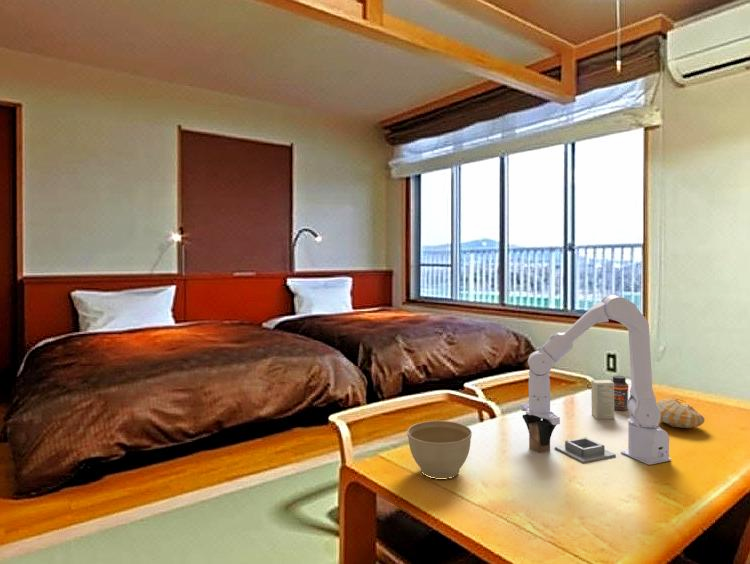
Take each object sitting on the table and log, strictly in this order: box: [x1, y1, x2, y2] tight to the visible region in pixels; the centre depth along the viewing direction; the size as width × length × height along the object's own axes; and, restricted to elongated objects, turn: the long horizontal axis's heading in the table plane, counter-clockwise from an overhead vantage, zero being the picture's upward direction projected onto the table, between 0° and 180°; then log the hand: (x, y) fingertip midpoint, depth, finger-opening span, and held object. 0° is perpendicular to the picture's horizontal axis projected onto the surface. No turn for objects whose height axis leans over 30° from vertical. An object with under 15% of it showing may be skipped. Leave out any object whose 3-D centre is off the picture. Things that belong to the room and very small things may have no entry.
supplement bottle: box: [611, 375, 629, 412], centre depth 182 cm, size 6×6×11 cm
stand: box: [554, 437, 617, 464], centre depth 144 cm, size 11×11×3 cm
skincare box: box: [590, 379, 615, 420], centre depth 174 cm, size 6×4×12 cm
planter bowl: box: [406, 420, 472, 478], centre depth 133 cm, size 16×16×11 cm
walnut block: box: [528, 423, 551, 453], centre depth 147 cm, size 4×4×7 cm
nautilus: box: [656, 396, 705, 430], centre depth 166 cm, size 8×22×15 cm
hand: (539, 442), depth 147 cm, fingers closed on walnut block, 4 cm apart
